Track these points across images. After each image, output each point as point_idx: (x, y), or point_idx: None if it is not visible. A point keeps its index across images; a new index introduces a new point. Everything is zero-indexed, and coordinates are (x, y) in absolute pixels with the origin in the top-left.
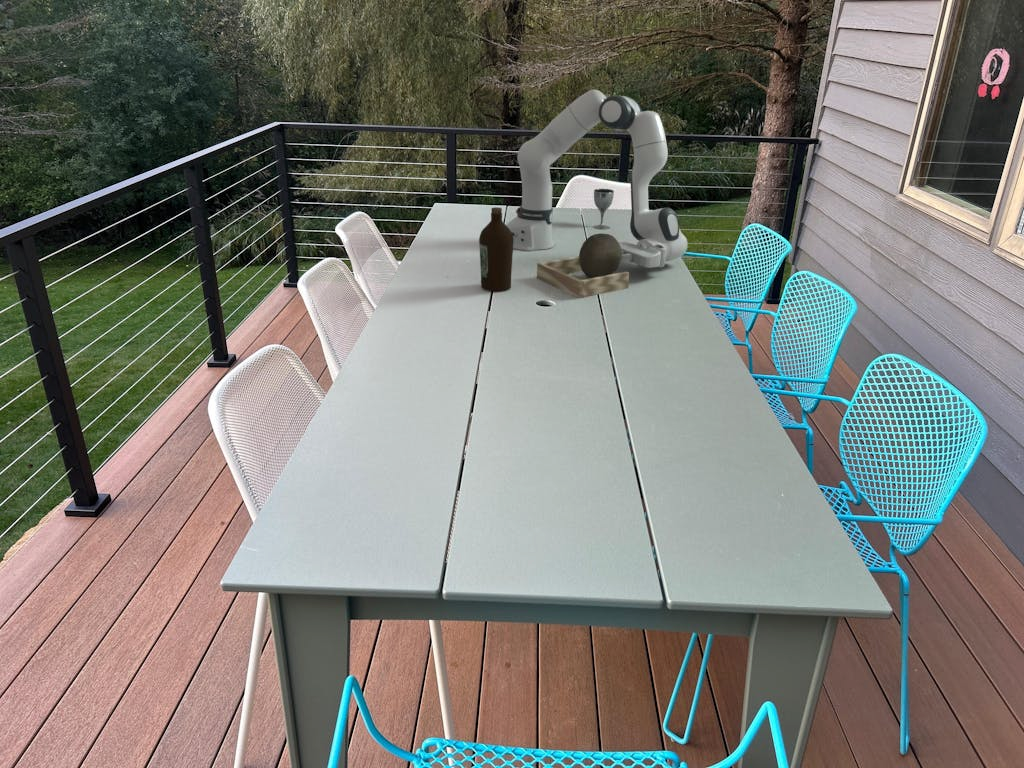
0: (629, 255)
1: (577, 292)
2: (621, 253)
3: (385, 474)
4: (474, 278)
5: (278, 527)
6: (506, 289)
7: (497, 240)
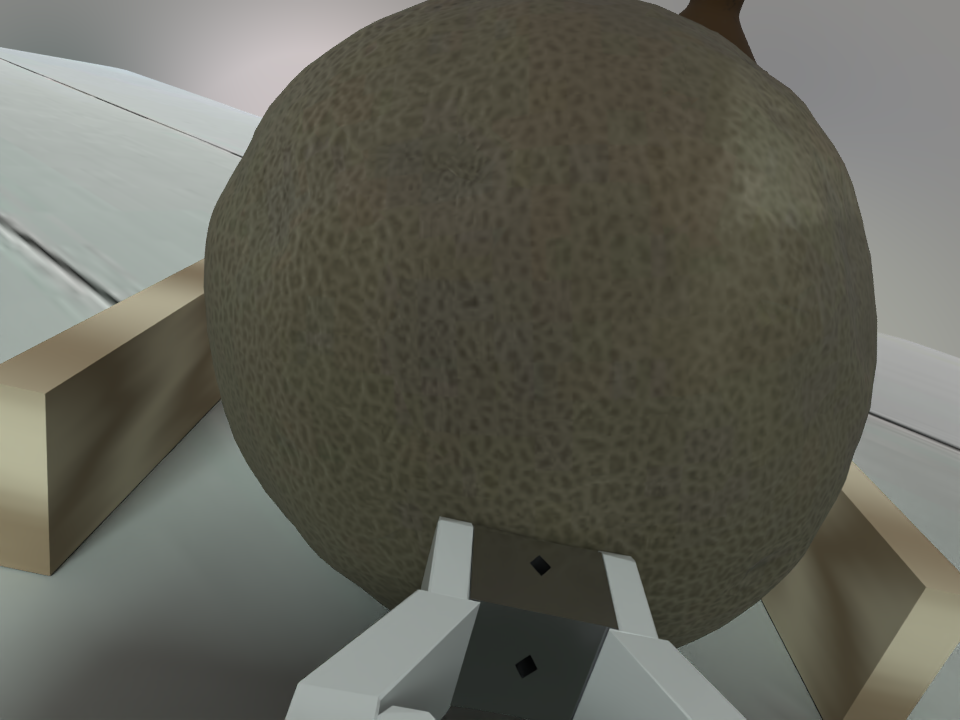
0: (295, 697)
1: None
2: (229, 225)
3: (109, 81)
4: None
5: (141, 77)
6: None
7: None
